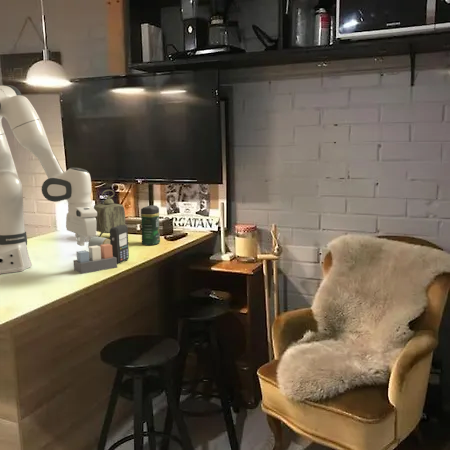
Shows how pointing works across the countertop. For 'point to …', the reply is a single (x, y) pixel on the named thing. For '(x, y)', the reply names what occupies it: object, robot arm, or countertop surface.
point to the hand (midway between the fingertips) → (80, 245)
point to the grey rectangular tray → (95, 265)
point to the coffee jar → (150, 225)
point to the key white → (94, 253)
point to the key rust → (106, 251)
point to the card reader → (119, 243)
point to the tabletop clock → (109, 215)
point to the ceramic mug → (98, 241)
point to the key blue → (82, 256)
